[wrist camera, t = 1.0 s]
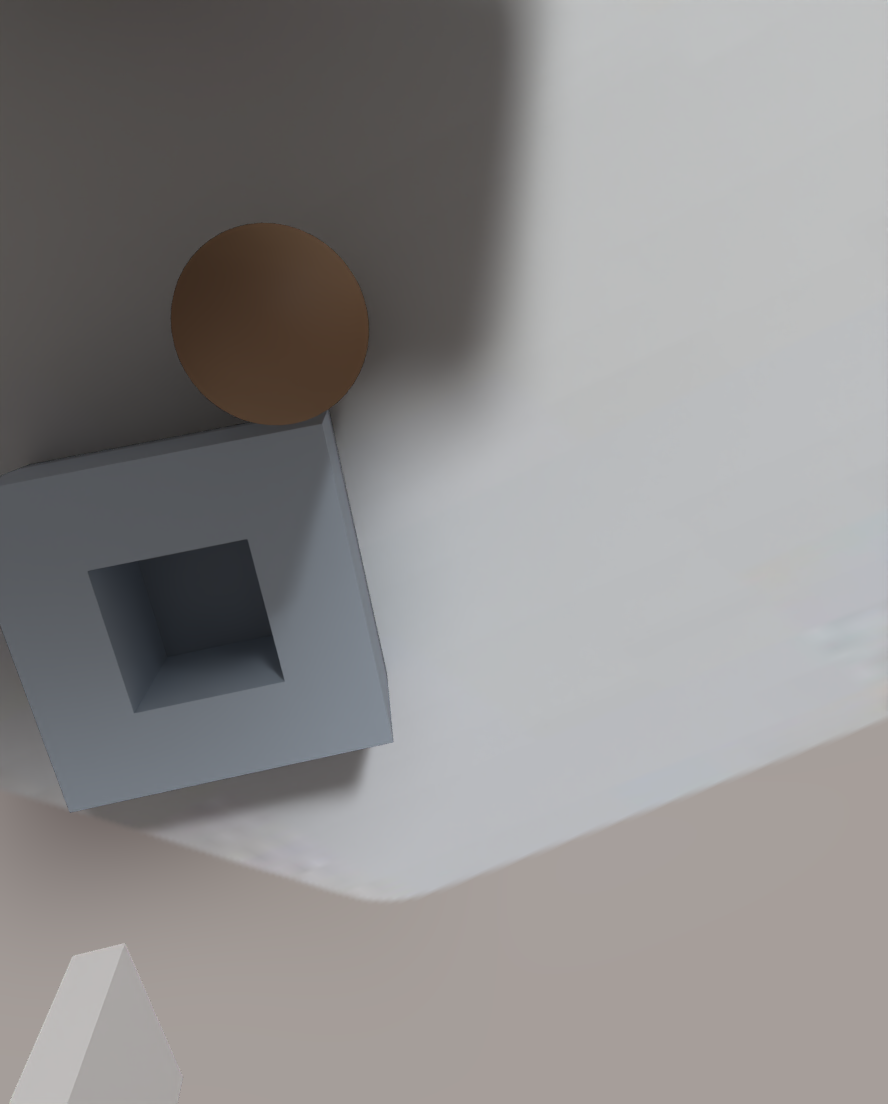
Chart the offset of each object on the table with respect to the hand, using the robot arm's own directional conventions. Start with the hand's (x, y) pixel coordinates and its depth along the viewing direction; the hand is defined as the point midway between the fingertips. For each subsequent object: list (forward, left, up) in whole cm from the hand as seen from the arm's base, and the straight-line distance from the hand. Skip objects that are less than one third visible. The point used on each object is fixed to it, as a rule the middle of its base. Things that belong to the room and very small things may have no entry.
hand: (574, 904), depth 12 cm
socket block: (0, -9, -22) cm, 24 cm away
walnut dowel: (-9, -3, -22) cm, 24 cm away
